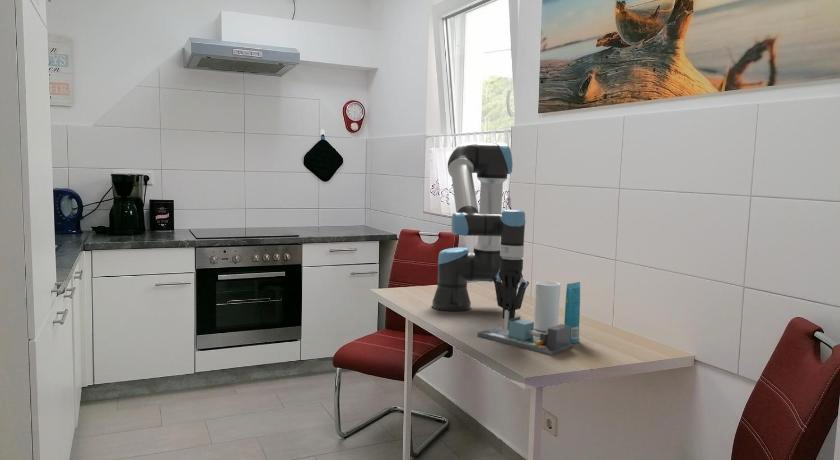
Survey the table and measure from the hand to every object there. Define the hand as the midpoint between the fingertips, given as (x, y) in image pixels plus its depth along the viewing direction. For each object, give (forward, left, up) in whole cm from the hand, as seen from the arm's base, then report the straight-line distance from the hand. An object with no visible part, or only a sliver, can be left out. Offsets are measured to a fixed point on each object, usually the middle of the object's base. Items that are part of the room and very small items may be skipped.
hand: (508, 329), depth 202 cm
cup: (+2, +20, -3) cm, 21 cm away
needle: (+14, -2, -2) cm, 14 cm away
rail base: (+6, 0, -3) cm, 7 cm away
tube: (+16, +12, -3) cm, 20 cm away
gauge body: (+7, 0, -2) cm, 8 cm away
